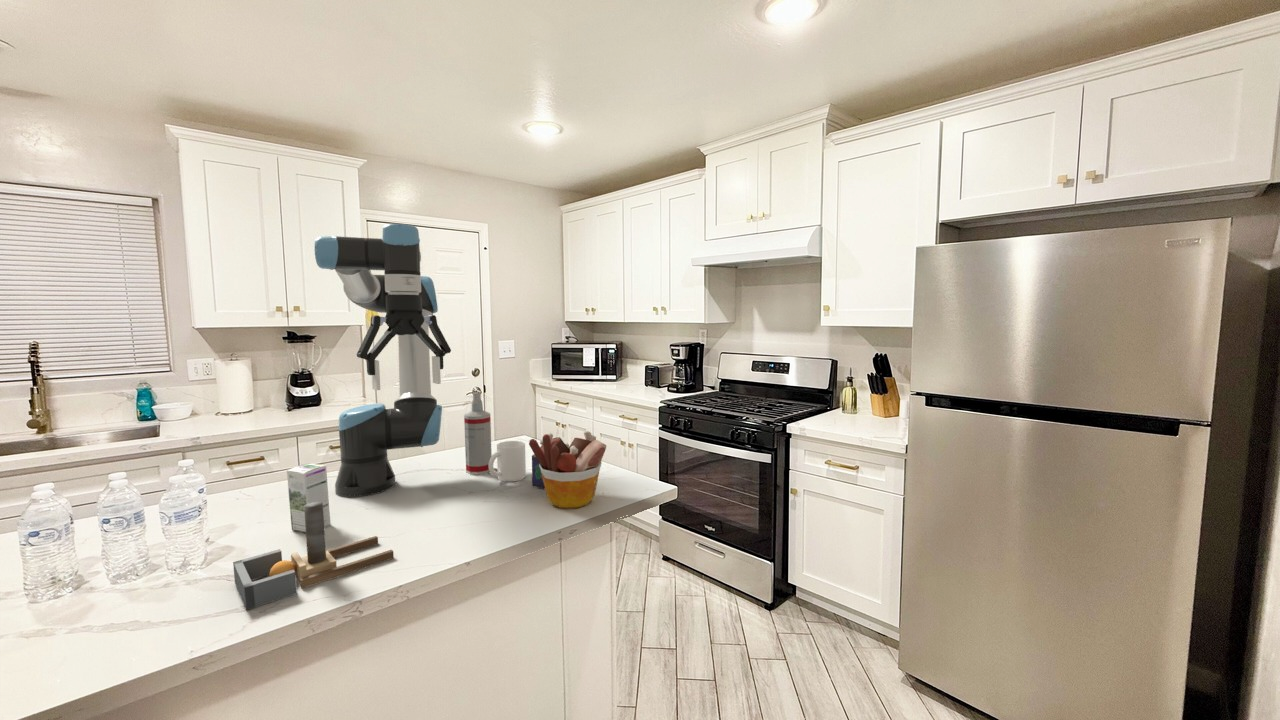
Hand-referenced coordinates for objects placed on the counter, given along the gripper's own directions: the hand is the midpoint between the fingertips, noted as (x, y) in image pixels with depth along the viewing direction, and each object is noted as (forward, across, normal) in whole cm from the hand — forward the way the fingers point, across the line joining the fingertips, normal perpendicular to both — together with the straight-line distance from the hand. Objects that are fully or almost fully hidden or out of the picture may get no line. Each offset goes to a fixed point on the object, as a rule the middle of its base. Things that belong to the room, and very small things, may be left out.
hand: (407, 386), depth 118 cm
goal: (+33, -30, -10) cm, 45 cm away
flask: (+33, +36, -2) cm, 49 cm away
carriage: (+33, -22, -10) cm, 41 cm away
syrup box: (+33, -18, +14) cm, 40 cm away
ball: (+31, -28, -10) cm, 43 cm away
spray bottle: (+33, +30, +25) cm, 51 cm away
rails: (+33, -18, -10) cm, 39 cm away
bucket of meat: (+33, +34, -16) cm, 50 cm away
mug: (+33, +32, +12) cm, 47 cm away
